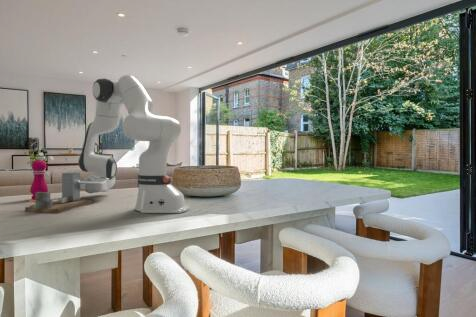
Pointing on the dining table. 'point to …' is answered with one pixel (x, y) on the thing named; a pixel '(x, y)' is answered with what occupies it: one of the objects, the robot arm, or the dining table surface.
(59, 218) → the dining table surface
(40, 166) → the pepper mill
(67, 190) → the brushed steel block
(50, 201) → the wood and grey stick
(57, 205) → the gauge bench
